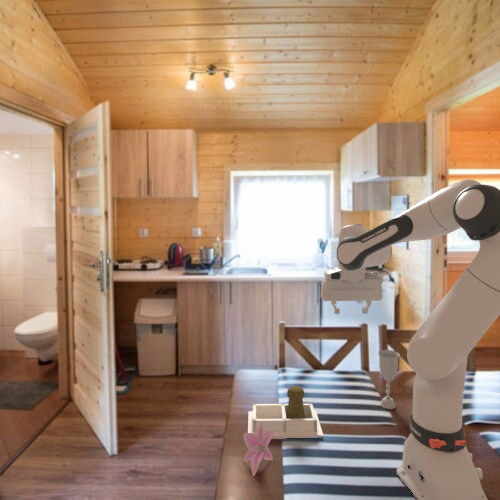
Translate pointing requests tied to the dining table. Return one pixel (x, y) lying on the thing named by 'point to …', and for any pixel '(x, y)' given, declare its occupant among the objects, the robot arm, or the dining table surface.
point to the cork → (295, 403)
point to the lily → (258, 447)
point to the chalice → (388, 373)
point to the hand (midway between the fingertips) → (350, 313)
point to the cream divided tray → (284, 421)
